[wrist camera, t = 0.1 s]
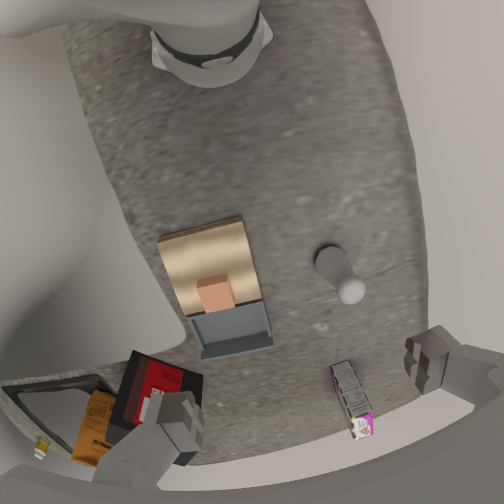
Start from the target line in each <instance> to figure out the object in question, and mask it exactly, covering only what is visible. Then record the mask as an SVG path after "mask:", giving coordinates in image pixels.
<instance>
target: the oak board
mask: <svg viewBox="0 0 504 504" xmlns="http://www.w3.org/2000/svg"><path fill="white" fill-rule="evenodd" d="M156 244H157V246H158V249H159V252H160V254H161V257H162V260H163V262H164V265H165V268H166V270H167V273H168V276H169V278H170V281H171V283H172V286H173V288H174V291H175V293H176V296H177V298H178V300H179V303H180V305H181V308H182V310H183V312H184V315H187V314H192V313H197V312H201V311H205V310H204V307H203V304H202V302H201V299H200V296H199V294H198V291H197V283H198V281H199V280H203V279H208V278H212V277H216V276H221V275H225V274H227V275H228V278H229V282H230V285H231V288H232V291H233V295H234V298H235V304H238V303H243V302H247V301H251V300H256V299H260V298H262V296H261V290H260V286H259V282H258V278H257V274H256V270H255V266H254V263H253V259H252V255H251V251H250V247H249V243H248V239H247V235H246V231H245V227H244V223H243V219H242V216H239V217H235V218H231V219H227V220H223V221H219V222H215V223H211V224H207V225H204V226H200V227H196V228H192V229H188V230H184V231H181V232H177V233H173V234H170V235H166V236H162V237H160V239H159V240H158V242H157V243H156Z"/></svg>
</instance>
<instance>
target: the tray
mask: <svg viewBox="0 0 504 504" xmlns="http://www.w3.org/2000/svg"><path fill="white" fill-rule="evenodd" d="M261 296H262V294H261ZM187 319H188V322H189V324H190V326H191V329H192V331H193V333H194V335H195V338H196V340H197V342H198V344H199V347H200V349H201V351H202V352H201V361H202V362H204V361H210V360H215V359H221V358H226V357H231V356H237V355H242V354H246V353H251V352H256V351H260V350H265V349H269V348H274V343H273V338H272V333H271V329H270V325H269V321H268V317H267V313H266V309H265V306H264V302H263V298H260V299H256V300H251V301H247V302H243V303H238V304H235V307H234V308H230V309H225V310H221V311H216V312H211V313H207V314H206V312H205V311H201V312H197V313H192V314H187Z"/></svg>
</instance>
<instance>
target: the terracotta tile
mask: <svg viewBox="0 0 504 504" xmlns="http://www.w3.org/2000/svg"><path fill="white" fill-rule="evenodd" d="M197 291H198V294H199V296H200V299H201V302H202V304H203V307H204V310H205V312H206V314H207V313H211V312H216V311H221V310H225V309H230V308H234V307H235V298H234V295H233V291H232V288H231V285H230V282H229V278H228V275H227V274H225V275H221V276H216V277H212V278H208V279H203V280H199V281H198V283H197Z"/></svg>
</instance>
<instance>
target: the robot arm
mask: <svg viewBox="0 0 504 504" xmlns="http://www.w3.org/2000/svg"><path fill="white" fill-rule="evenodd" d="M259 2H260V0H0V35H2V36H6V37H12V38H18V37H24V36H27V35H30V34H33V33H35V32H38V31H41V30H44V29H47V28H51V27H54V26H58V25H62V24H67V23H73V22H79V21H90V20H112V21H124V22H133V23H139V24H144V25H148V26H150V27H151V28H152V31H151V32H150V36H151V39H152V64H153V65H154V67H155V68H157V69H160V70H164V71H169V72H171V73H173V74H174V75H176V76H177V77H178V78H179V79H181V80H182V81H184V82H186V83H188V84H190V85H193V86H196V87H201V88H217V87H222V86H226V85H229V84H231V83H234V82H236V81H237V80H239V79H241V78H242V77H243V76H245V75H246V74H247V73H248V72H249V71H250V70H251V68H252V67H253V66H254V64H255V62H256V60H257V58H258V56H259V53H260V52H261V50H262V49H263V48H264V47H266V46H267V45H268V44H269V43H270V42H271V41H272V39H273V33H272V31H271V29H270V27H269V25H268V24H267V22H266V20H265V18H264V17H263V15H262V13H261V11H260V10H259ZM405 347H406V348H407V350H408V351H407V353H406V354H405V356H404V365H405V369H406V372H407V374H408V375H409V377H410V378H413V379H416V382H415V385H416V387H417V388H418V390H419V391H420V392H421V394H422V395H424V394H427V393H429V392H432V391H434V390H436V389H438V388H440V387H441V389H443V390H445V391H447V392H449V393H451V394H454V395H456V396H458V397H460V398H462V399H464V400H466V401H468V402H470V403H472V404H475V407H474V409H473V412H471V413H469V414H468V415H466V416H464V417H463V418H461V419H459V420H458V421H456V422H454V423H452V424H450V425H448V426H447V427H445V428H443V429H441V430H439V431H437V432H435V433H433V434H431V435H429V436H427V437H425V438H423V439H421V440H418V441H416V442H414V443H412V444H410V445H407V446H405V447H403V448H400V449H398V450H395V451H393V452H390V453H388V454H385V455H383V456H380V457H378V458H375V459H372V460H369V461H366V462H363V463H360V464H357V465H354V466H351V467H347V468H344V469H340V470H337V471H334V472H330V473H326V474H322V475H318V476H314V477H309V478H305V479H300V480H295V481H290V482H285V483H279V484H272V485H266V486H258V487H250V488H242V489H229V490H213V491H164V490H161V489H160V488H159V487H158V486H157V485H156V484H157V483H158V481H159V480H160V479H161V477H162V476H163V475H164V474H165V472H166V471H167V470H168V469H169V467H170V466H171V465H172V463H173V462H174V461H175V460H176V458H177V457H178V456H179V454H180V452H192V451H201V449H202V438H203V437H202V435H201V434H200V432H201V430H202V429H203V428H204V419H203V414H202V411H201V408H200V406H199V405H197V404H195V397H194V395H193V393H192V392H191V391H185V392H173V393H163V394H153V395H152V396H151V398H150V402H149V405H148V408H147V411H146V415H145V418H144V421H143V424H139V425H138V426H137V427H136V428H135V429H133V430H132V431H131V432H130V433H129V434H128V435H127V436H125V437H124V438H123V439H122V440H121V441H120V442H118V443H117V444H116V445H115V446H114V447H113V448H111V449H110V450H109V451H108V452H107V453H105V454H104V455H103V456H102V457H101V458H100V459H99V462H98V465H97V467H96V470H95V473H94V476H93V479H92V482H89V481H84V480H79V479H74V478H70V477H66V476H62V475H58V474H54V473H51V472H47V471H44V470H41V469H38V468H35V467H32V466H28V465H25V464H21V465H18V466H16V467H14V468H12V469H10V470H8V471H7V472H5V473H4V474H2V475H0V504H504V354H502V353H499V352H494V351H490V350H486V349H482V348H478V347H474V346H470V345H466V344H465V345H463V346H462V345H461V344H460V343H459V342H458V341H457V340H456V339H455V338H454V337H453V336H452V335H451V334H450V333H449V332H448V331H446V330H445V329H444V328H443V327H442V326H440V325H438V326H435V327H433V328H431V329H429V330H427V331H424V332H422V333H419V334H417V335H414V336H412V337H409V338H407V340H406V344H405Z"/></svg>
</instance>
